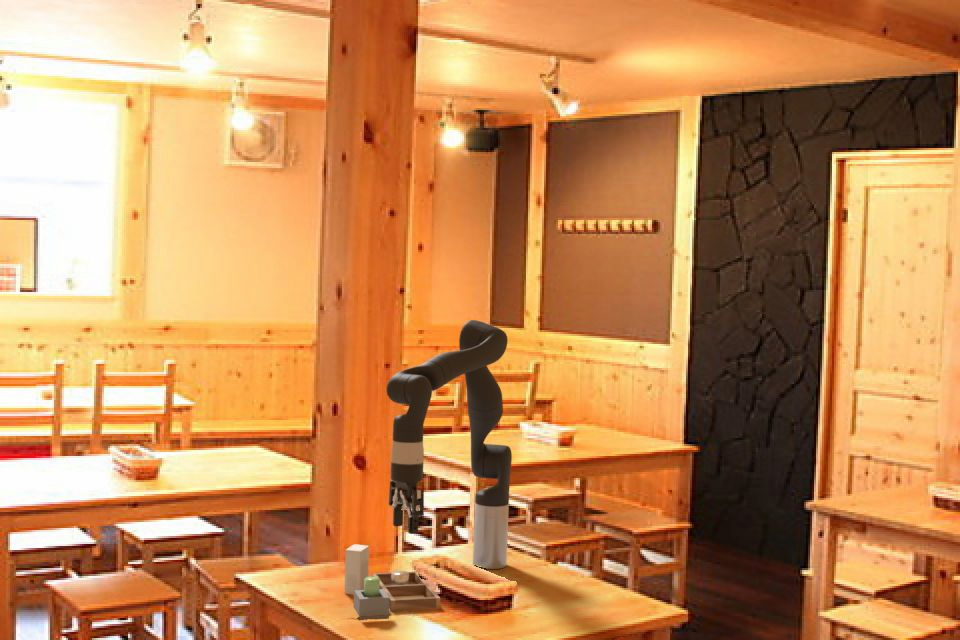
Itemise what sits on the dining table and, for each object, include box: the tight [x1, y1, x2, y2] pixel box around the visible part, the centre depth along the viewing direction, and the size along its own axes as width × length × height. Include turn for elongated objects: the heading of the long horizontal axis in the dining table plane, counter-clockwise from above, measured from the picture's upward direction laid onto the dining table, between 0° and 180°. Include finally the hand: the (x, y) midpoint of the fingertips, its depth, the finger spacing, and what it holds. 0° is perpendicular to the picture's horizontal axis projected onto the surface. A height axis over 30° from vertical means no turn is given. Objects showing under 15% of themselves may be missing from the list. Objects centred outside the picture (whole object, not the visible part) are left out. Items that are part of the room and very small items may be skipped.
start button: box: [364, 576, 380, 597], centre depth 283 cm, size 4×4×4 cm
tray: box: [371, 571, 441, 612], centre depth 297 cm, size 23×12×4 cm, turn 17°
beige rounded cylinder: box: [390, 570, 409, 585], centre depth 302 cm, size 4×4×4 cm
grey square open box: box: [353, 589, 390, 621], centre depth 284 cm, size 7×7×5 cm
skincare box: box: [344, 543, 370, 596], centre depth 299 cm, size 6×4×12 cm
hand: (405, 529), depth 280 cm, fingers open, 8 cm apart
